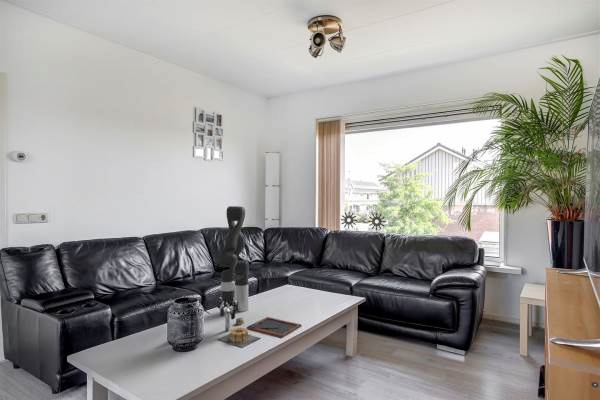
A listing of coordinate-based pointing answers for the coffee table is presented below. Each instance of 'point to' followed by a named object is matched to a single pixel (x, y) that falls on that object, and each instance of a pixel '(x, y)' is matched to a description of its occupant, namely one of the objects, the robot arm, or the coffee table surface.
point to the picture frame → (274, 327)
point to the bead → (239, 321)
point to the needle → (227, 320)
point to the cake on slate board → (239, 337)
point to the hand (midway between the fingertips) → (227, 317)
